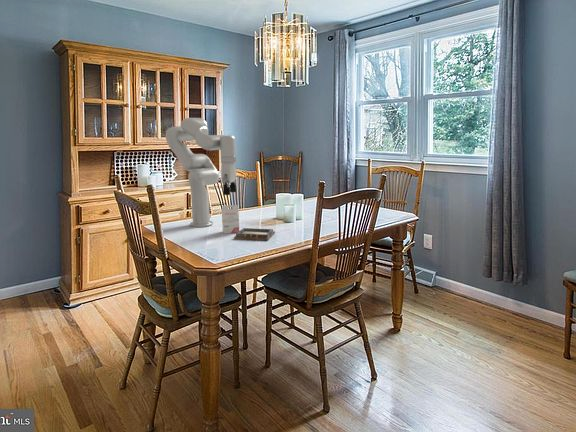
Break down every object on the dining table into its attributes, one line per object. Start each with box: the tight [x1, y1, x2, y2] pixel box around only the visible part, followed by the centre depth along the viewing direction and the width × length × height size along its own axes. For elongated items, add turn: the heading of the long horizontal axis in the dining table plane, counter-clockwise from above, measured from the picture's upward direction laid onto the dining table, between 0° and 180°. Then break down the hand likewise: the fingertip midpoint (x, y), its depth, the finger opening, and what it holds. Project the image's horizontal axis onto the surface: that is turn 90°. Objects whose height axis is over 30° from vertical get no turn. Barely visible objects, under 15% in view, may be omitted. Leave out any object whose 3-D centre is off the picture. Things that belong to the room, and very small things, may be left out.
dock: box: [233, 227, 276, 242], centre depth 215 cm, size 15×17×3 cm
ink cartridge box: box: [221, 204, 240, 234], centre depth 223 cm, size 9×5×15 cm, turn 101°
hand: (230, 193), depth 220 cm, fingers open, 9 cm apart
